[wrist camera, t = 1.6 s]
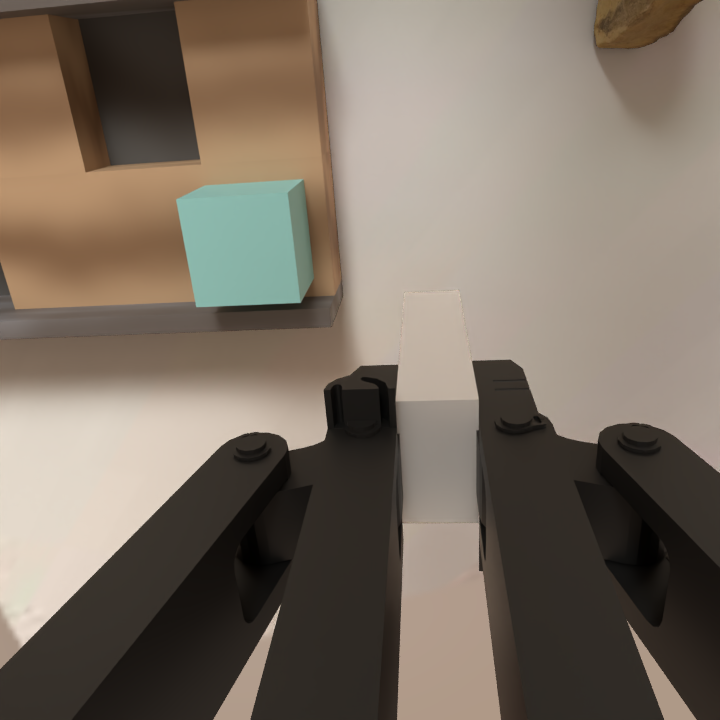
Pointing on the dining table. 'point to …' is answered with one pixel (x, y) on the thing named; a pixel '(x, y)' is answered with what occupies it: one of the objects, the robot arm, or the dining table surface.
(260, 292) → the block
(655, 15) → the rock
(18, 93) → the trap board
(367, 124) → the dining table surface
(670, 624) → the robot arm
